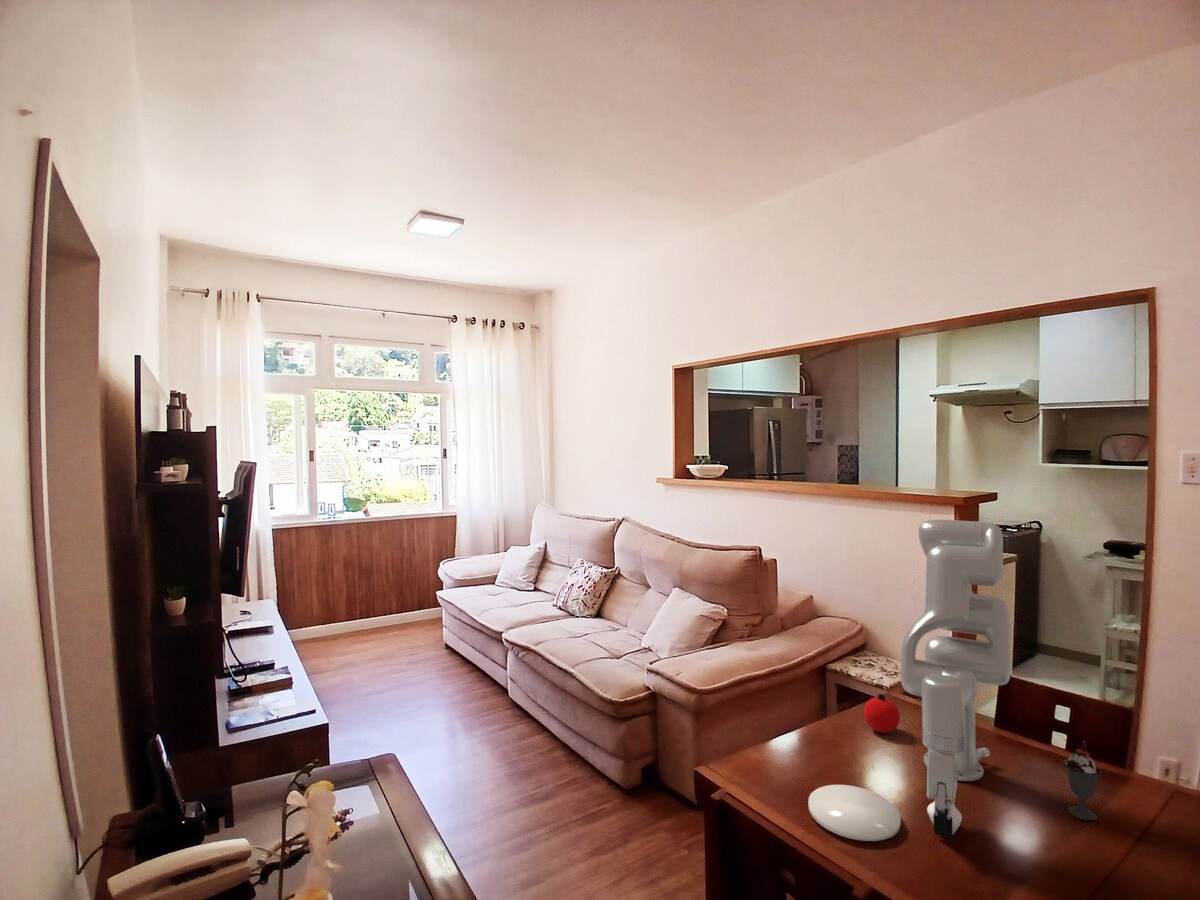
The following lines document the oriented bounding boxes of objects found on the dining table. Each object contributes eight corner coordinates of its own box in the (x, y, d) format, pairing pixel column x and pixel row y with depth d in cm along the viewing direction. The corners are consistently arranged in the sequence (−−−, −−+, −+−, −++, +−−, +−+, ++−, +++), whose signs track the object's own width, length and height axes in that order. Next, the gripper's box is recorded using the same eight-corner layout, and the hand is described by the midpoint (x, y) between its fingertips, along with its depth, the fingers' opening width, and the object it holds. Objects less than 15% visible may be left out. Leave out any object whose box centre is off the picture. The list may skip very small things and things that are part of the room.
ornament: (883, 741, 162) (883, 704, 162) (856, 727, 170) (856, 691, 170) (907, 734, 166) (907, 697, 166) (879, 721, 174) (879, 685, 174)
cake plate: (858, 786, 141) (858, 778, 141) (921, 833, 124) (920, 824, 124) (791, 802, 136) (791, 793, 136) (847, 853, 119) (847, 843, 119)
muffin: (960, 825, 126) (959, 792, 126) (963, 843, 121) (963, 808, 121) (926, 818, 129) (925, 785, 129) (928, 836, 123) (927, 801, 123)
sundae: (1094, 807, 132) (1093, 738, 132) (1108, 826, 125) (1107, 753, 125) (1057, 802, 134) (1057, 733, 134) (1069, 820, 128) (1069, 748, 127)
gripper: (926, 717, 134) (927, 799, 134) (917, 752, 119) (919, 843, 120) (966, 725, 130) (967, 809, 130) (962, 762, 115) (963, 857, 116)
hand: (944, 825), depth 125 cm, fingers closed on muffin, 6 cm apart
